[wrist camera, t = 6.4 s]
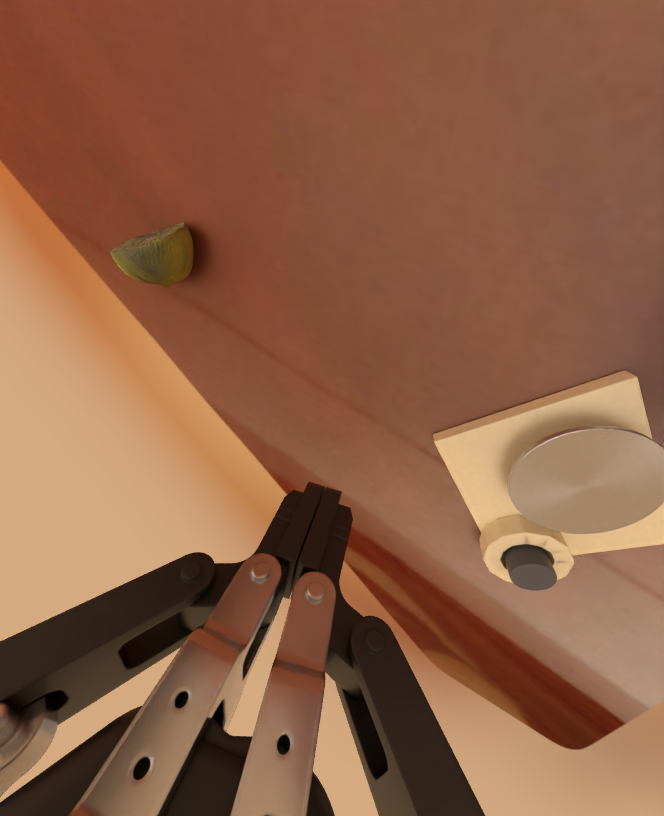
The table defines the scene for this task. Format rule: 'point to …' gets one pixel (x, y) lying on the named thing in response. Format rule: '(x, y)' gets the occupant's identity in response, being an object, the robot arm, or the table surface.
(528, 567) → the tare button
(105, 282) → the table surface
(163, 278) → the lime
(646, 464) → the weighing plate
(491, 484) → the scale
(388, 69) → the table surface
